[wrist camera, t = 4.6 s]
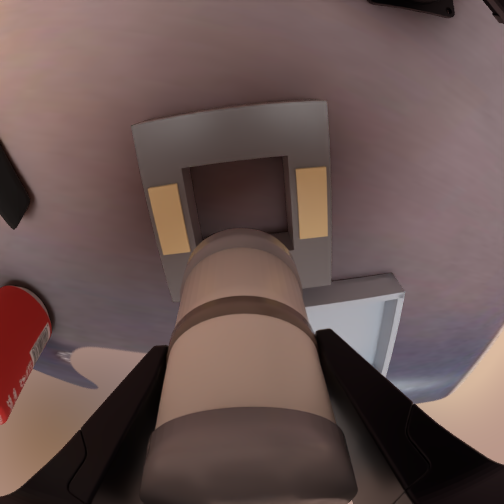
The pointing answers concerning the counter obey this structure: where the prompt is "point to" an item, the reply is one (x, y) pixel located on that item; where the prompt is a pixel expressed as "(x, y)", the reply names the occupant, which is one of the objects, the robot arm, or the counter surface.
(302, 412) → the cylinder
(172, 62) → the counter surface
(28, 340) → the beverage can
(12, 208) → the electric trimmer
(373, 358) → the parts tray
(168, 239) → the fuse block
